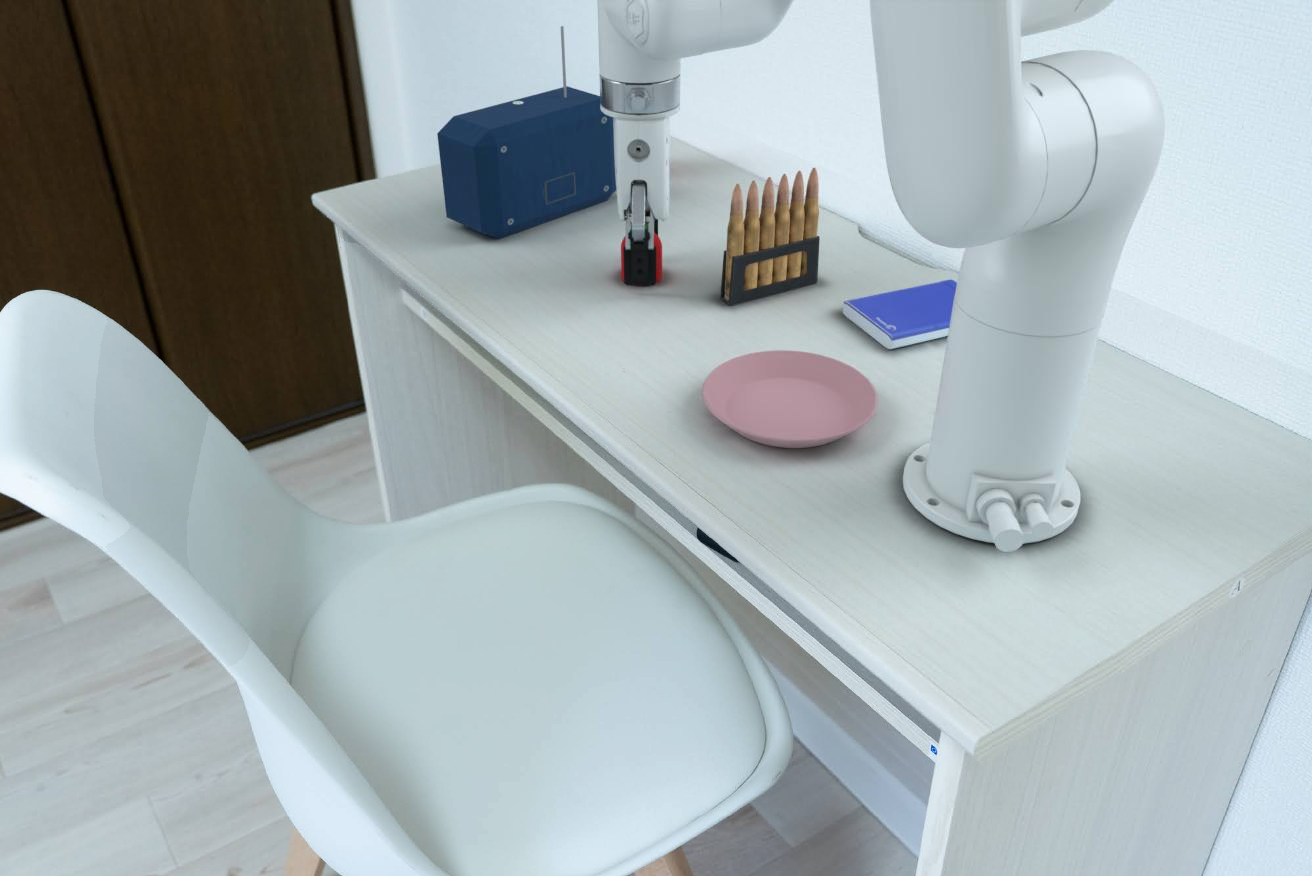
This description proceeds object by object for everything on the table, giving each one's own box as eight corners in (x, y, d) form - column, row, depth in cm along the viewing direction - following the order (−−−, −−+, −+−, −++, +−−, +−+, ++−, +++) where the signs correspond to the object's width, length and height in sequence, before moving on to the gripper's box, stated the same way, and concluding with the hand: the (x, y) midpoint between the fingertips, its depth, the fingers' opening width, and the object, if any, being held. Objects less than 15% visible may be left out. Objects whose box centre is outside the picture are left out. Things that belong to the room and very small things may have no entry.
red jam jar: (661, 286, 110) (661, 233, 107) (620, 286, 110) (619, 232, 107) (662, 269, 114) (662, 216, 111) (622, 268, 114) (621, 216, 111)
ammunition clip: (807, 276, 112) (816, 163, 106) (817, 282, 111) (828, 169, 104) (719, 298, 108) (723, 182, 101) (729, 306, 107) (734, 188, 100)
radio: (577, 179, 136) (571, 11, 125) (626, 197, 131) (623, 24, 120) (440, 225, 124) (419, 43, 113) (487, 247, 119) (470, 59, 108)
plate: (669, 428, 88) (669, 407, 87) (751, 355, 98) (752, 335, 97) (831, 481, 82) (834, 460, 81) (901, 398, 92) (904, 377, 91)
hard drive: (892, 336, 98) (1003, 311, 102) (843, 299, 104) (949, 277, 108) (890, 351, 99) (1000, 326, 103) (842, 313, 105) (947, 291, 109)
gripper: (679, 122, 94) (677, 306, 104) (680, 68, 109) (678, 234, 119) (593, 121, 95) (599, 305, 104) (605, 68, 109) (610, 234, 119)
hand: (641, 266), depth 111 cm, fingers open, 7 cm apart
